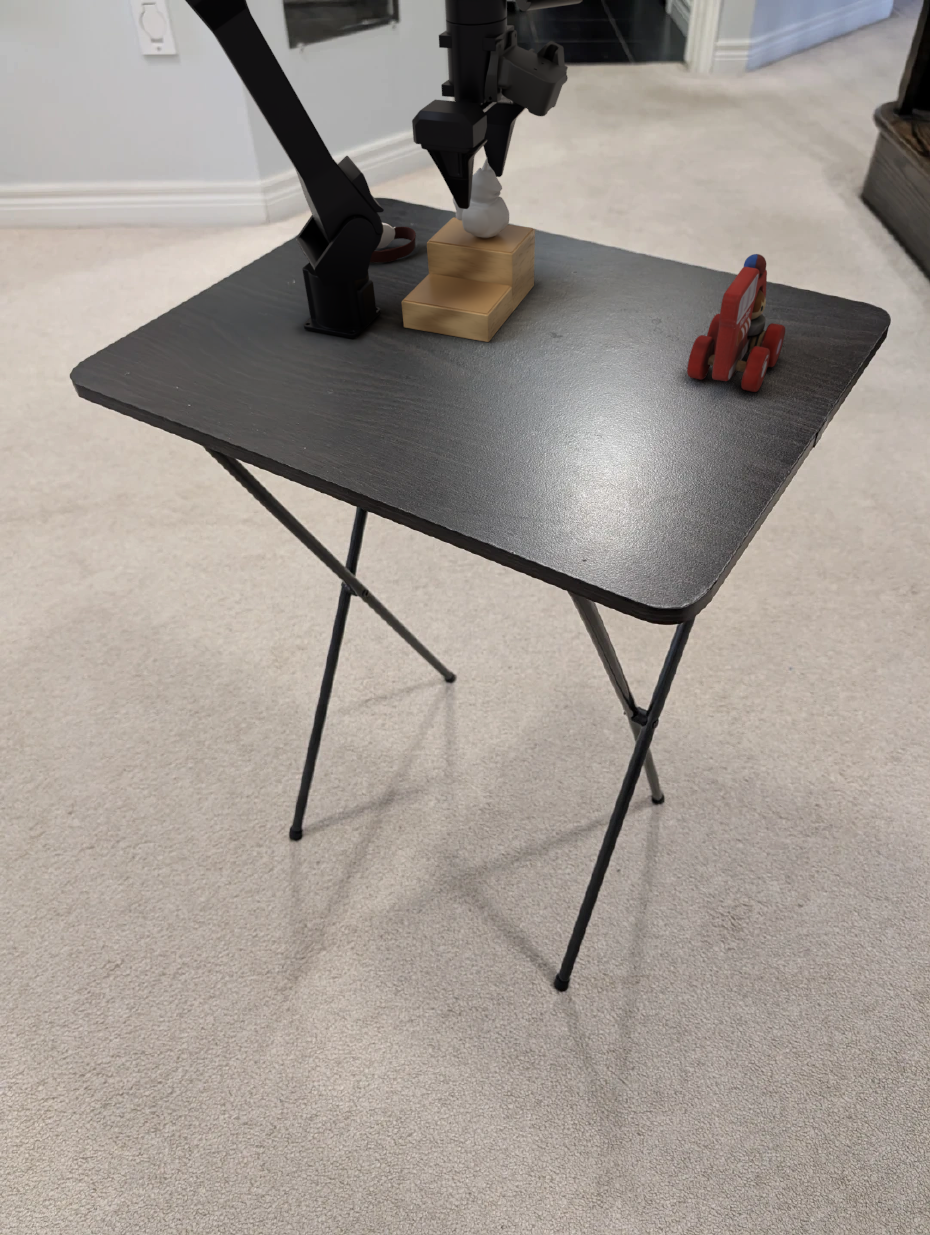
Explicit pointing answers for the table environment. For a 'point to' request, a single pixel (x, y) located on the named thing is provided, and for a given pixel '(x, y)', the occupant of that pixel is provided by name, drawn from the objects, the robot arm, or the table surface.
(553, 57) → the robot arm
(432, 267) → the step shelf
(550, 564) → the table surface
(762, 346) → the toy fire truck
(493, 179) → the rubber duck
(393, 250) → the watch
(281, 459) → the table surface
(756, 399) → the table surface
